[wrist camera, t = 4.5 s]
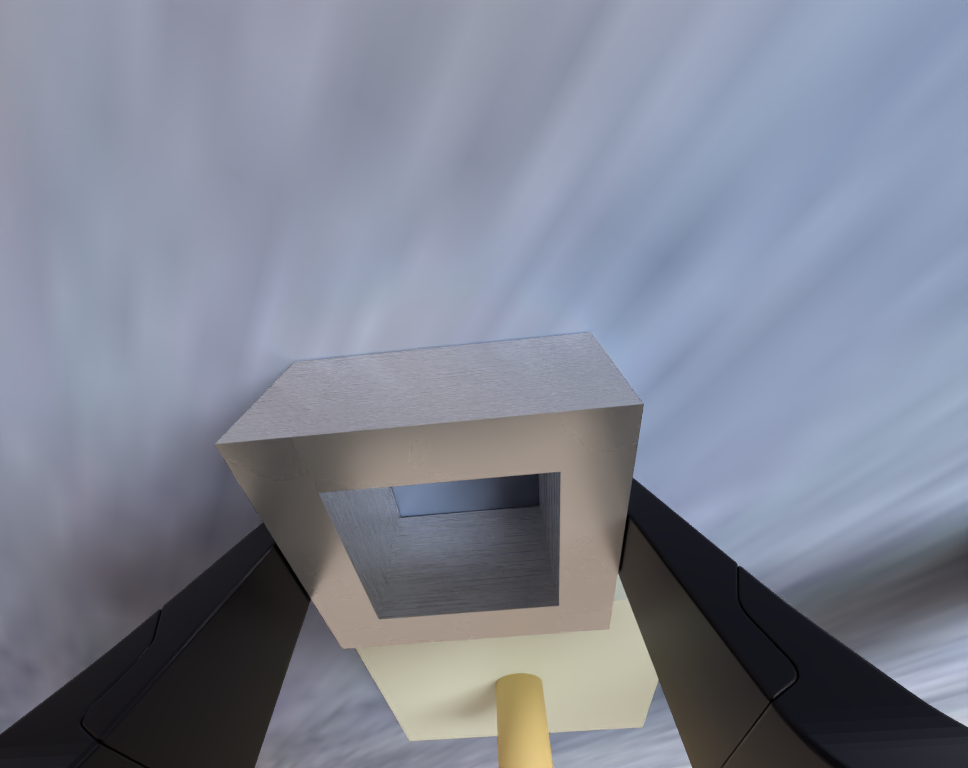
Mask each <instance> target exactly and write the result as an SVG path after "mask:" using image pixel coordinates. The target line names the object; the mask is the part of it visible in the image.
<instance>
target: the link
mask: <svg viewBox="0 0 968 768" xmlns="http://www.w3.org/2000/svg"><path fill="white" fill-rule="evenodd" d="M643 406H644V404H643V402H642V401H641V399H640V398H639V397H638V395H637V394H636V393H635V391H634V390H633V389H632V387H631V386H630V385H629V383H628V382H627V381H626V379H625V378H624V376H623V375H622V374H621V372H620V371H619V370H618V368H617V367H616V366H615V364H614V363H613V362H612V360H611V359H610V358H609V356H608V355H607V353H606V352H605V351H604V349H603V348H602V347H601V345H600V344H599V343H598V341H597V340H596V339H595V337H594V336H593V335H592V333H591V332H587V333H577V334H567V335H557V336H547V337H537V338H527V339H517V340H508V341H498V342H488V343H478V344H468V345H458V346H448V347H438V348H428V349H418V350H409V351H399V352H389V353H379V354H369V355H359V356H349V357H339V358H329V359H319V360H309V361H300V362H294V363H293V364H292V365H291V366H290V367H289V368H288V369H287V370H286V371H285V372H284V373H283V374H282V375H281V377H280V378H279V379H278V380H277V381H276V382H275V383H274V384H273V385H272V386H271V387H270V388H269V389H268V390H267V391H266V392H265V393H264V394H263V395H262V396H261V397H260V398H259V399H258V400H257V401H256V402H255V403H254V404H253V405H252V406H251V407H250V408H249V409H248V410H247V411H246V412H245V413H244V414H243V416H242V417H241V418H240V419H239V420H238V421H237V422H236V423H235V424H234V425H233V426H232V427H231V428H230V429H229V430H228V431H227V432H226V433H225V434H224V435H223V436H222V437H221V438H220V439H219V440H218V441H217V442H216V443H215V446H216V448H217V449H218V451H219V452H220V454H221V456H222V457H223V459H224V460H225V462H226V464H227V465H228V467H229V468H230V470H231V472H232V473H233V475H234V476H235V478H236V480H237V481H238V483H239V484H240V486H241V488H242V489H243V491H244V492H245V494H246V495H247V497H248V499H249V500H250V502H251V503H252V505H253V507H254V508H255V510H256V511H257V513H258V515H259V516H260V518H261V519H262V521H263V523H264V524H265V526H266V527H267V529H268V531H269V532H270V534H271V535H272V537H273V539H274V540H275V542H276V543H277V545H278V547H279V548H280V550H281V551H282V553H283V555H284V556H285V558H286V559H287V561H288V563H289V564H290V566H291V567H292V569H293V571H294V572H295V574H296V575H297V577H298V579H299V580H300V582H301V583H302V585H303V587H304V588H305V590H306V591H307V593H308V595H309V596H310V598H311V599H312V601H313V603H314V604H315V606H316V607H317V609H318V611H319V612H320V614H321V615H322V617H323V619H324V620H325V622H326V623H327V625H328V627H329V628H330V630H331V631H332V633H333V635H334V636H335V638H336V639H337V641H338V643H339V644H340V646H341V647H342V649H349V648H362V647H376V646H389V645H403V644H417V643H430V642H444V641H458V640H471V639H485V638H498V637H512V636H526V635H539V634H553V633H567V632H580V631H594V630H607V629H609V628H610V621H611V615H612V608H613V602H614V595H615V589H616V582H617V576H618V569H619V563H620V556H621V550H622V543H623V537H624V530H625V524H626V517H627V511H628V504H629V497H630V491H631V484H632V478H633V471H634V465H635V458H636V452H637V445H638V439H639V432H640V426H641V419H642V413H643ZM527 474H539V502H540V506H532V507H520V508H508V509H496V510H485V511H473V512H461V513H449V514H438V515H426V516H414V517H403V518H401V516H400V513H399V510H398V507H397V504H396V501H395V498H394V495H393V492H392V489H391V487H392V486H403V485H414V484H426V483H437V482H448V481H459V480H471V479H482V478H493V477H505V476H516V475H527Z"/></svg>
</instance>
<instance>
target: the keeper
mask: <svg viewBox="0 0 968 768" xmlns="http://www.w3.org/2000/svg"><path fill="white" fill-rule="evenodd" d="M356 650H357V652H358V653H359V655H360V657H361V659H362V660H363V662H364V664H365V665H366V667H367V669H368V671H369V672H370V674H371V676H372V677H373V679H374V681H375V683H376V684H377V686H378V688H379V689H380V691H381V693H382V695H383V696H384V698H385V700H386V701H387V703H388V705H389V706H390V708H391V710H392V712H393V713H394V715H395V717H396V718H397V720H398V722H399V724H400V725H401V727H402V729H403V730H404V732H405V734H406V736H407V737H408V739H409V741H419V740H436V739H453V738H470V737H487V736H498V761H499V768H553V762H552V755H551V747H550V739H549V733H554V732H571V731H588V730H604V729H621V728H638V727H643V725H644V722H645V719H646V716H647V713H648V710H649V707H650V704H651V701H652V698H653V695H654V692H655V689H656V686H657V683H658V680H659V679H658V677H657V674H656V671H655V669H654V666H653V664H652V661H651V658H650V656H649V653H648V650H647V648H646V645H645V643H644V640H643V637H642V635H641V632H640V630H639V627H638V624H637V622H636V619H635V617H634V614H633V611H632V609H631V606H630V603H629V601H628V598H627V596H626V593H625V590H624V588H623V585H622V583H621V580H620V577H619V575H618V576H617V582H616V589H615V595H614V602H613V608H612V615H611V621H610V628H609V629H607V630H594V631H580V632H567V633H553V634H539V635H526V636H512V637H498V638H485V639H471V640H458V641H444V642H430V643H417V644H403V645H389V646H376V647H362V648H356Z"/></svg>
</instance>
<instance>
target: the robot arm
mask: <svg viewBox="0 0 968 768" xmlns="http://www.w3.org/2000/svg"><path fill="white" fill-rule="evenodd" d="M618 575H619V577H620V580H621V583H622V585H623V588H624V590H625V593H626V596H627V598H628V601H629V603H630V606H631V609H632V611H633V614H634V617H635V619H636V622H637V624H638V627H639V630H640V632H641V635H642V637H643V640H644V643H645V645H646V648H647V650H648V653H649V656H650V658H651V661H652V664H653V666H654V669H655V671H656V674H657V677H658V679H659V682H660V684H661V687H662V690H663V692H664V695H665V697H666V700H667V703H668V705H669V708H670V711H671V713H672V716H673V718H674V721H675V724H676V726H677V729H678V731H679V734H680V737H681V739H682V742H683V744H684V747H685V750H686V752H687V755H688V757H689V760H690V763H691V765H692V768H968V727H967V726H965V725H963V724H961V723H959V722H958V721H956V720H954V719H952V718H950V717H949V716H947V715H945V714H944V713H942V712H940V711H939V710H937V709H936V708H934V707H932V706H931V705H929V704H927V703H926V702H925V701H923V700H922V699H920V698H919V697H917V696H916V695H914V694H913V693H911V692H910V691H908V690H907V689H906V688H904V687H903V686H901V685H900V684H899V683H897V682H896V681H894V680H893V679H892V678H890V677H889V676H887V675H886V674H885V673H883V672H882V671H880V670H879V669H878V668H876V667H875V666H873V665H872V664H871V663H869V662H868V661H866V660H865V659H864V658H862V657H861V656H859V655H858V654H857V653H855V652H854V651H852V650H851V649H850V648H848V647H847V646H845V645H844V644H843V643H841V642H840V641H838V640H837V639H835V638H834V637H833V636H831V635H830V634H828V633H827V632H826V631H824V630H823V629H821V628H820V627H819V626H817V625H816V624H815V623H813V622H812V621H811V620H809V619H808V618H807V617H805V616H804V615H802V614H801V613H800V612H798V611H797V610H796V609H794V608H793V607H792V606H790V605H789V604H788V603H786V602H785V601H784V600H782V599H781V598H780V597H779V596H777V595H776V594H775V593H774V592H772V591H771V590H770V589H769V588H767V587H766V586H765V585H763V584H762V583H761V582H760V581H758V580H757V579H756V578H755V577H754V576H752V575H751V574H750V573H749V572H747V571H746V570H745V569H744V568H743V567H741V566H738V565H737V563H736V562H735V561H734V560H733V559H731V558H730V557H729V556H728V555H726V554H725V553H724V552H723V551H722V550H720V549H719V548H718V547H717V546H716V545H714V544H713V543H712V542H711V541H709V540H708V539H707V538H706V537H705V536H703V535H702V534H701V533H700V532H698V531H697V530H696V529H695V528H694V527H692V526H691V525H690V524H689V523H688V522H686V521H685V520H684V519H683V518H681V517H680V516H679V515H678V514H677V513H675V512H674V511H673V510H672V509H670V508H669V507H668V506H667V505H666V504H664V503H663V502H662V501H661V500H660V499H658V498H657V497H656V496H655V495H653V494H652V493H651V492H650V491H649V490H647V489H646V488H645V487H644V486H642V485H641V484H640V483H639V482H638V481H636V480H635V479H634V478H632V484H631V491H630V497H629V504H628V511H627V517H626V524H625V530H624V537H623V543H622V550H621V556H620V563H619V569H618ZM310 600H311V598H310V596H309V595H308V593H307V591H306V590H305V588H304V587H303V585H302V583H301V582H300V580H299V579H298V577H297V575H296V574H295V572H294V571H293V569H292V567H291V566H290V564H289V563H288V561H287V559H286V558H285V556H284V555H283V553H282V551H281V550H280V548H279V547H278V545H277V543H276V542H275V540H274V539H273V537H272V535H271V534H270V532H269V531H268V529H267V527H266V526H265V524H264V523H262V524H260V525H259V526H258V527H257V528H256V529H255V530H253V531H252V532H251V533H250V534H249V535H247V536H246V537H245V538H244V539H243V540H241V541H240V542H239V543H238V544H237V545H235V546H234V547H233V548H232V549H231V550H230V551H228V552H227V553H226V554H225V555H224V556H222V557H221V558H220V559H219V560H218V561H216V562H215V563H214V564H213V565H212V566H210V567H209V568H208V569H207V570H206V571H204V572H203V573H202V574H201V575H200V576H199V577H197V578H196V579H195V580H194V581H193V582H191V583H190V584H189V585H188V586H187V587H185V588H184V589H183V590H182V591H181V592H179V593H178V594H177V595H176V596H175V597H173V598H172V599H171V600H170V601H169V602H167V603H166V604H165V605H164V606H163V608H162V609H160V610H158V611H157V612H155V613H154V614H153V615H152V616H151V617H149V618H148V619H147V620H146V621H145V622H144V623H142V624H141V625H140V626H139V627H138V628H136V629H135V630H134V631H133V632H131V633H130V634H129V635H128V636H127V637H125V638H124V639H123V640H122V641H120V642H119V643H118V644H117V645H115V646H114V647H113V648H112V649H111V650H109V651H108V652H107V653H106V654H104V655H103V656H102V657H100V658H99V659H98V660H97V661H95V662H94V663H93V664H91V665H90V666H89V667H88V668H86V669H85V670H84V671H82V672H81V673H80V674H79V675H77V676H76V677H75V678H73V679H72V680H71V681H70V682H68V683H67V684H66V685H64V686H63V687H62V688H60V689H59V690H58V691H56V692H55V693H54V694H52V695H51V696H50V697H49V698H47V699H46V700H45V701H43V702H42V703H41V704H39V705H38V706H37V707H35V708H34V709H33V710H32V711H30V712H29V713H28V714H26V715H25V716H24V717H22V718H21V719H20V720H18V721H17V722H16V723H14V724H13V725H12V726H11V727H9V728H8V729H7V730H5V731H4V732H3V733H1V734H0V768H255V765H256V762H257V759H258V756H259V753H260V750H261V747H262V744H263V741H264V738H265V735H266V732H267V729H268V726H269V723H270V720H271V717H272V714H273V711H274V708H275V705H276V702H277V699H278V696H279V693H280V690H281V687H282V684H283V681H284V678H285V675H286V672H287V669H288V666H289V663H290V660H291V657H292V654H293V651H294V648H295V645H296V642H297V639H298V636H299V633H300V630H301V627H302V624H303V621H304V618H305V615H306V612H307V609H308V606H309V603H310Z"/></svg>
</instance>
